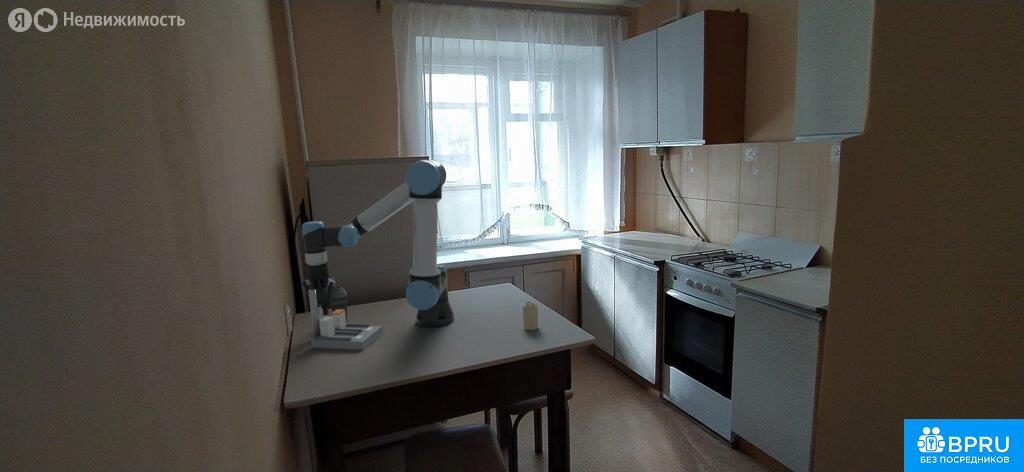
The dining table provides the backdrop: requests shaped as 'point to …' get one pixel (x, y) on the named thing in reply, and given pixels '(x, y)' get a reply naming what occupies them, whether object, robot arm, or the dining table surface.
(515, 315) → the dining table surface
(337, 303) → the beverage cup
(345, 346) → the panel
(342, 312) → the grey orange block
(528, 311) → the candle
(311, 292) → the post
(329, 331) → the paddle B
